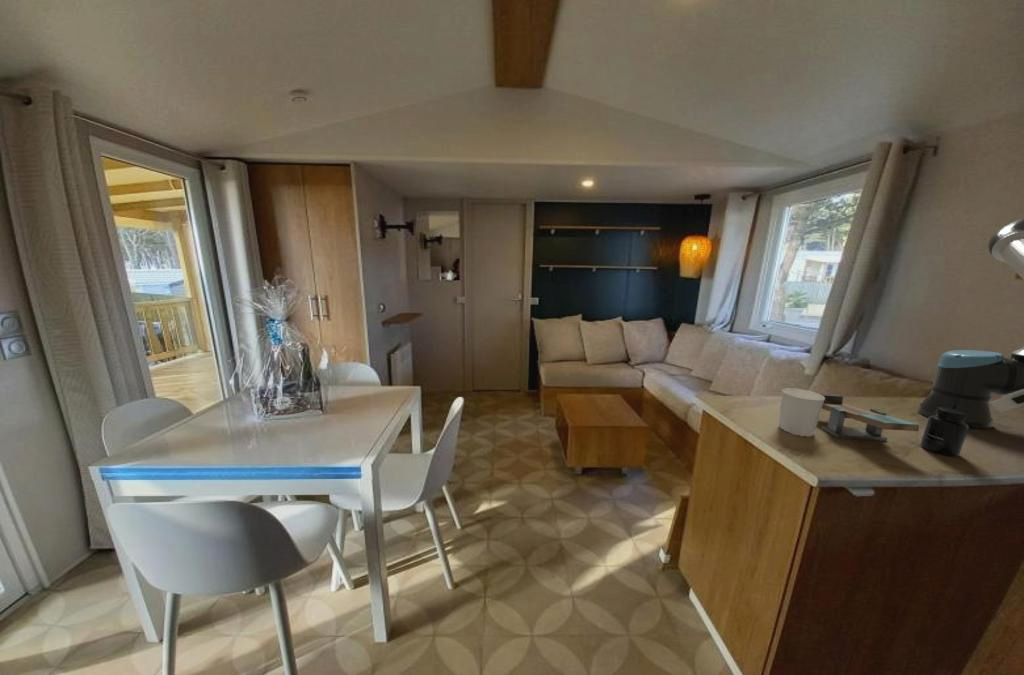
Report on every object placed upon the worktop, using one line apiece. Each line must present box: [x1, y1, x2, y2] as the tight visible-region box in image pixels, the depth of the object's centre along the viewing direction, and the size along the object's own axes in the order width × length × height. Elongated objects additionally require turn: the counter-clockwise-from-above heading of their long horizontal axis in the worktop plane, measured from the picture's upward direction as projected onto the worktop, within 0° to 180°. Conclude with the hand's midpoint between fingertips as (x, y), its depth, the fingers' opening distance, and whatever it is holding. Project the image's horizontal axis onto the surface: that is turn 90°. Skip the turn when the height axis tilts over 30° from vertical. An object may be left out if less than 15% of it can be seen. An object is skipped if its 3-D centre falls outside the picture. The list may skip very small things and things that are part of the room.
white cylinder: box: [778, 387, 825, 438], centre depth 102 cm, size 10×10×12 cm
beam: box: [819, 393, 920, 432], centre depth 99 cm, size 9×25×5 cm, turn 173°
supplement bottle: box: [920, 407, 970, 457], centre depth 91 cm, size 7×7×12 cm
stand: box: [821, 407, 888, 442], centre depth 100 cm, size 13×6×8 cm, turn 83°
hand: (1000, 404), depth 83 cm, fingers open, 13 cm apart
